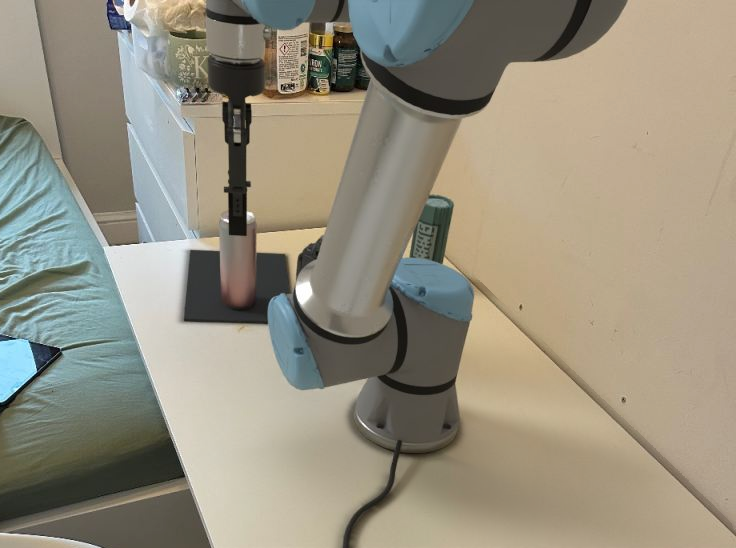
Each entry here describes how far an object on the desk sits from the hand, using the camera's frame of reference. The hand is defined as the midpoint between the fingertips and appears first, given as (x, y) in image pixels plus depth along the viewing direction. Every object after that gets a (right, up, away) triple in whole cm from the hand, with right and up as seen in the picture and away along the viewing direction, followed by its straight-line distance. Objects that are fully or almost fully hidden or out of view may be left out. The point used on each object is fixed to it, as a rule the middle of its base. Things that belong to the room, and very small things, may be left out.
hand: (237, 233), depth 112 cm
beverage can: (-2, -6, +15) cm, 17 cm away
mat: (-3, -2, +20) cm, 21 cm away
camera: (+14, -2, +23) cm, 27 cm away
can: (+31, +2, +29) cm, 43 cm away
